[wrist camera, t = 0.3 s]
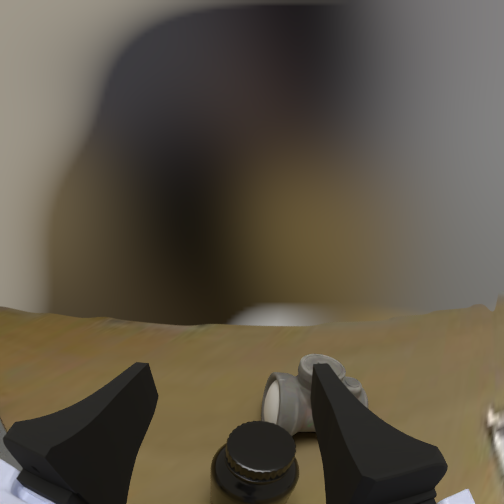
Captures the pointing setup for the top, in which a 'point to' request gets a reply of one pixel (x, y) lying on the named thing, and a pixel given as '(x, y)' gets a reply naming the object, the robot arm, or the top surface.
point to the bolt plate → (3, 452)
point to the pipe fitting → (300, 394)
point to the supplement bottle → (255, 466)
